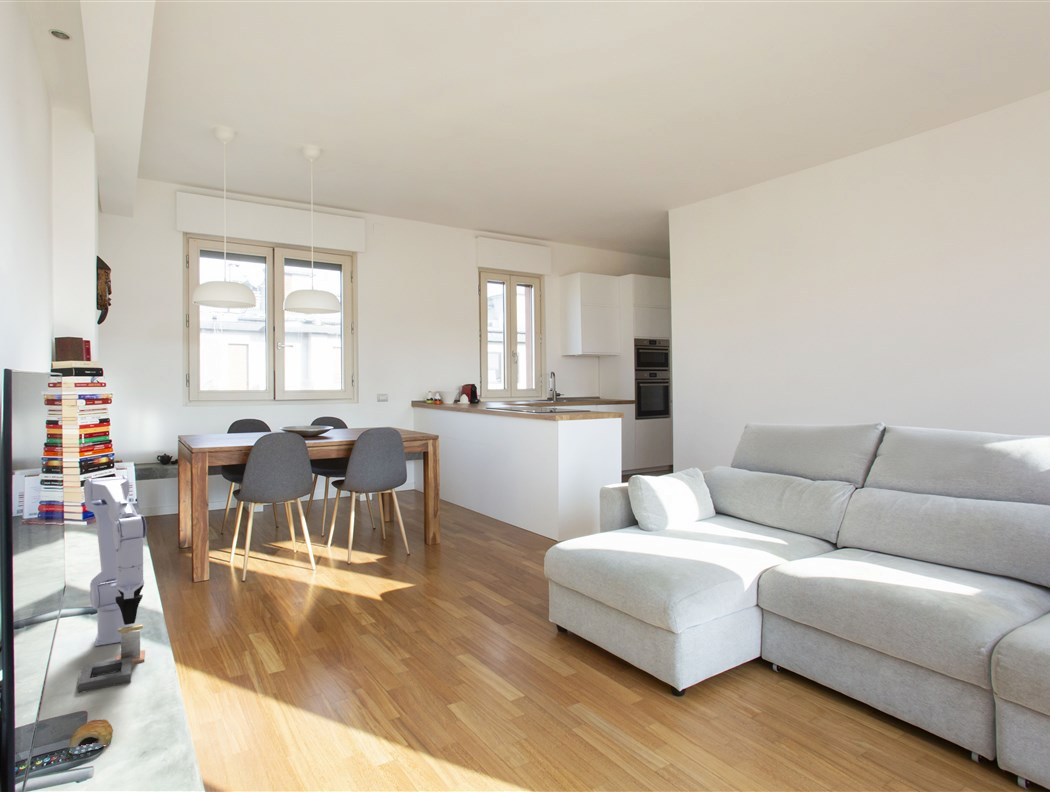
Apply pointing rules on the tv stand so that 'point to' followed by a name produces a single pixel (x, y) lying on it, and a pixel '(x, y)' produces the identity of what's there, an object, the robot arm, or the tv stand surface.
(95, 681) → the charcoal socket
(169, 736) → the tv stand surface
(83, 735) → the pastry
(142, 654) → the terracotta pad
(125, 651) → the steel key
